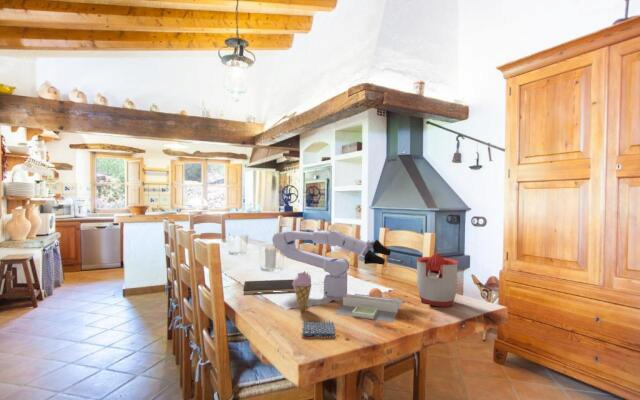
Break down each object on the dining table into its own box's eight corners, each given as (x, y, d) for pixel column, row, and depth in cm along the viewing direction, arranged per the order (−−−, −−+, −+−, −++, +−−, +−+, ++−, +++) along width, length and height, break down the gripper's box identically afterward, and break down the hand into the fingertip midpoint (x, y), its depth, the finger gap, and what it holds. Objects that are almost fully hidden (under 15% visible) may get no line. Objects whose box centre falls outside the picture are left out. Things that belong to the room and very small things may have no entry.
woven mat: (334, 326, 105) (334, 320, 105) (337, 340, 94) (337, 333, 94) (301, 326, 104) (302, 320, 104) (301, 340, 94) (301, 333, 94)
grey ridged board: (334, 316, 112) (334, 304, 112) (355, 296, 136) (355, 286, 136) (392, 325, 104) (392, 313, 104) (403, 302, 129) (403, 292, 129)
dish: (351, 315, 110) (351, 311, 110) (357, 309, 117) (357, 305, 117) (373, 319, 107) (373, 314, 107) (378, 312, 114) (378, 308, 114)
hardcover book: (297, 293, 142) (297, 288, 142) (243, 295, 137) (243, 290, 137) (293, 283, 157) (293, 279, 157) (244, 285, 153) (244, 280, 153)
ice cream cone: (296, 316, 111) (296, 273, 111) (289, 311, 117) (290, 269, 117) (313, 313, 115) (314, 271, 115) (306, 308, 120) (306, 268, 120)
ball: (367, 301, 125) (367, 288, 125) (370, 298, 130) (370, 285, 130) (380, 303, 124) (380, 290, 124) (383, 299, 128) (383, 287, 128)
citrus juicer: (411, 306, 124) (411, 254, 124) (420, 294, 139) (420, 248, 139) (455, 313, 116) (456, 257, 116) (459, 300, 132) (460, 251, 132)
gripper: (350, 244, 124) (383, 257, 119) (363, 230, 136) (394, 241, 131) (347, 260, 127) (380, 273, 122) (360, 244, 139) (391, 255, 134)
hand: (387, 257), depth 127 cm, fingers open, 7 cm apart
